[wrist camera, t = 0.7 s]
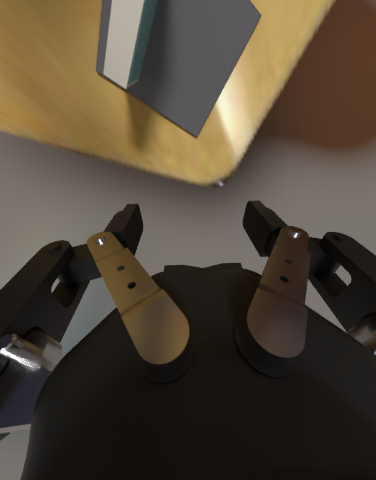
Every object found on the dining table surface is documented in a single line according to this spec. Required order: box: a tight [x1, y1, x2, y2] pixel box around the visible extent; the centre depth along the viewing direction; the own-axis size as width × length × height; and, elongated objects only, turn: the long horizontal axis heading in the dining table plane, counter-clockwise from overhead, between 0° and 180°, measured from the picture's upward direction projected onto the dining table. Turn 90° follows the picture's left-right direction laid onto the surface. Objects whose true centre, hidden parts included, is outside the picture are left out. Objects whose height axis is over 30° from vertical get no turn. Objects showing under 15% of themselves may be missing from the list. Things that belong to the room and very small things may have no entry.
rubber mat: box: [96, 0, 261, 137], centre depth 22 cm, size 18×16×1 cm
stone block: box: [103, 0, 158, 89], centre depth 17 cm, size 3×12×10 cm, turn 150°
